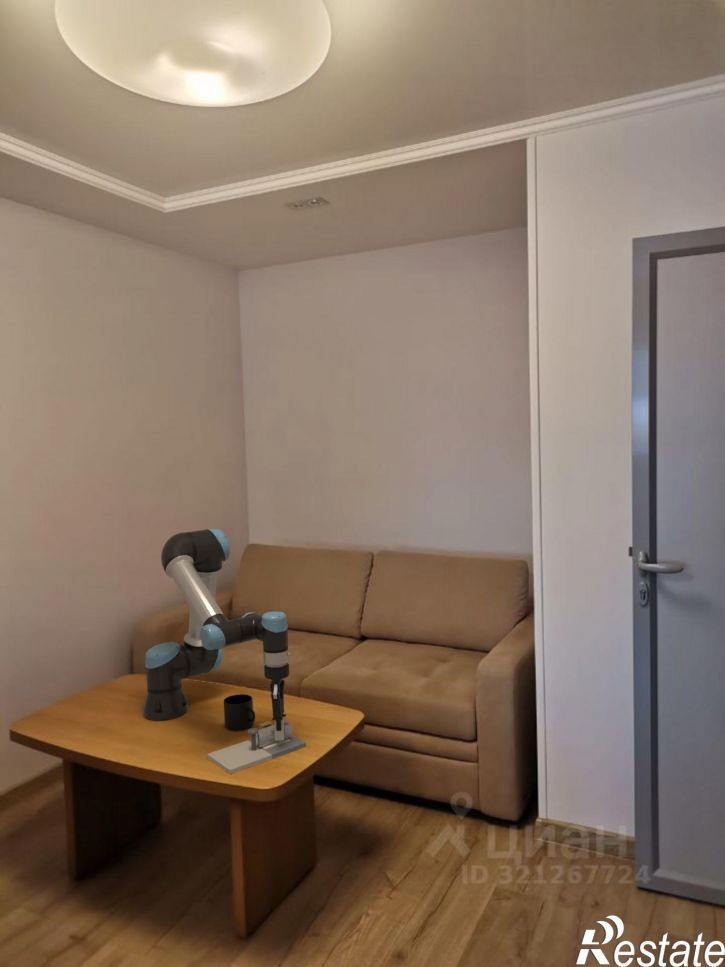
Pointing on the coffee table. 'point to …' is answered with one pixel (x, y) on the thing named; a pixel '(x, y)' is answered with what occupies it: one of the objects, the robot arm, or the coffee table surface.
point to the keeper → (265, 725)
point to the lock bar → (271, 734)
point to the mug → (238, 712)
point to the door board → (252, 752)
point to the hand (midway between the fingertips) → (279, 739)
